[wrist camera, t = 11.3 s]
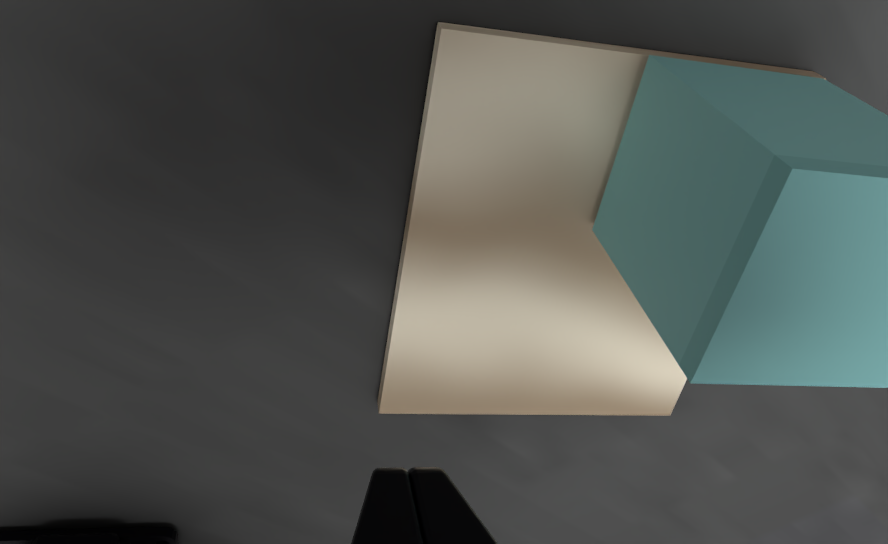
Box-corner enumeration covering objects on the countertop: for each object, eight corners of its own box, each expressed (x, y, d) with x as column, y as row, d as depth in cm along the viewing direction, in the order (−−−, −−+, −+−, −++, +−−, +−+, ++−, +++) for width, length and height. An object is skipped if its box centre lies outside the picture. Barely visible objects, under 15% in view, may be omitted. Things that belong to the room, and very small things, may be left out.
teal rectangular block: (747, 241, 22) (887, 387, 17) (592, 229, 21) (690, 383, 16) (822, 78, 20) (1020, 191, 14) (649, 55, 18) (792, 168, 13)
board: (663, 404, 27) (669, 415, 27) (377, 401, 25) (378, 413, 24) (813, 71, 20) (826, 78, 20) (437, 21, 18) (441, 28, 18)
